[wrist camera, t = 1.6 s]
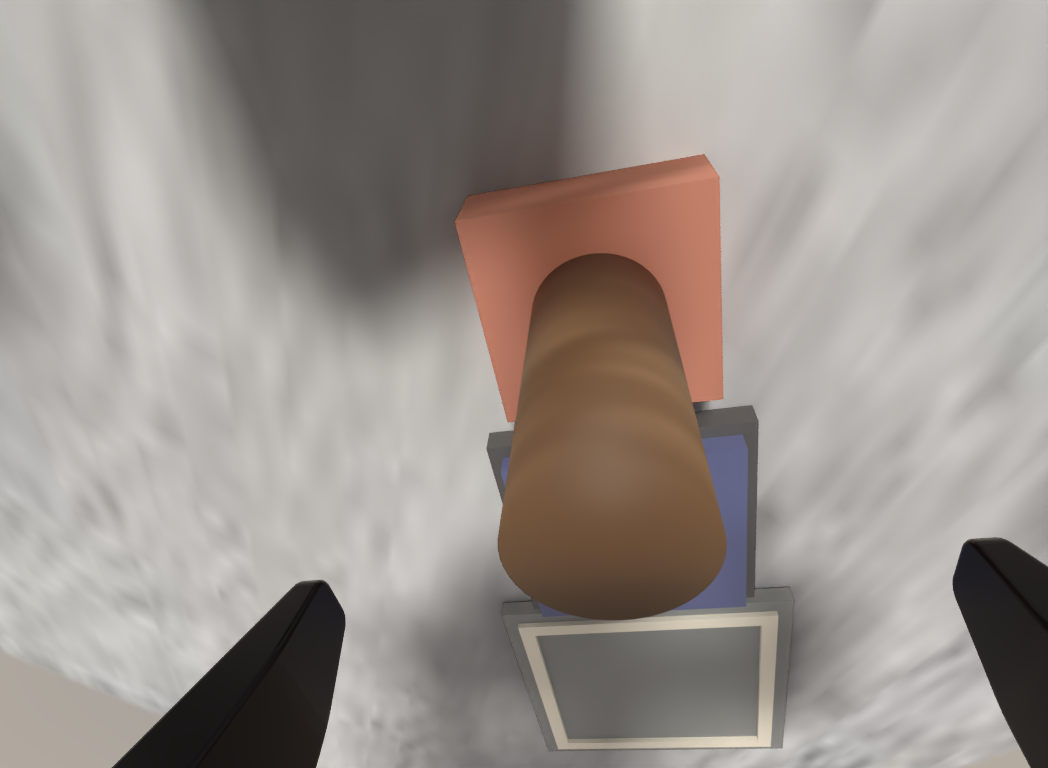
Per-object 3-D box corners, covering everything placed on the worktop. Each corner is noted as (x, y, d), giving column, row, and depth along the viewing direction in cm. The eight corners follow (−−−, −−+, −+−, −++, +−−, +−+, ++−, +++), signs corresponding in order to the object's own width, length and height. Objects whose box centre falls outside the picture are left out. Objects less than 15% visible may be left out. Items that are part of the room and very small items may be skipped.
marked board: (789, 587, 23) (795, 605, 23) (779, 735, 30) (783, 752, 29) (502, 602, 25) (500, 619, 25) (549, 738, 32) (548, 755, 31)
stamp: (704, 153, 15) (841, 360, 7) (710, 359, 18) (808, 658, 10) (467, 195, 16) (356, 415, 8) (514, 383, 19) (467, 670, 11)
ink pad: (752, 405, 19) (764, 436, 17) (749, 579, 23) (758, 613, 22) (489, 433, 20) (483, 463, 19) (535, 591, 25) (533, 624, 23)
